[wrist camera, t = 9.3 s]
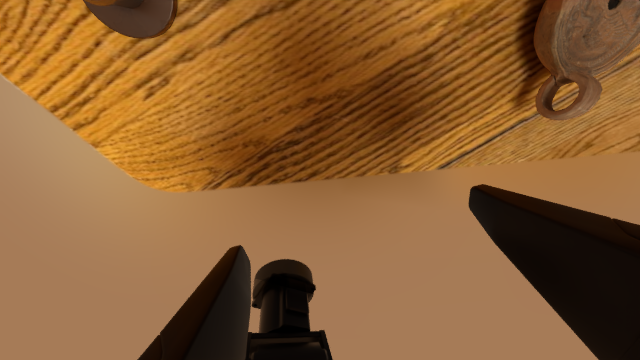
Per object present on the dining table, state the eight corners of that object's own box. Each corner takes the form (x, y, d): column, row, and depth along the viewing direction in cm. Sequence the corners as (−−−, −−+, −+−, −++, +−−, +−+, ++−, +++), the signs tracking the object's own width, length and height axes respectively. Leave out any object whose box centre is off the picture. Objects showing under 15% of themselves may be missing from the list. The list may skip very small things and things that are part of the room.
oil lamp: (590, -125, 14) (722, -197, 10) (671, -78, 16) (813, -122, 12) (477, 99, 20) (530, 114, 16) (545, 116, 22) (609, 134, 18)
